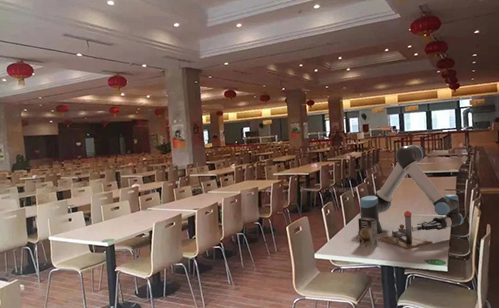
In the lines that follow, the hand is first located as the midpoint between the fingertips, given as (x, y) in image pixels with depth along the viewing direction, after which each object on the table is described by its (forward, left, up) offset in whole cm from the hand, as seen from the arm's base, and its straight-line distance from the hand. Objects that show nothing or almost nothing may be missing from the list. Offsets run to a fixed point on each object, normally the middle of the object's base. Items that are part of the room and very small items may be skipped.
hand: (412, 229), depth 241 cm
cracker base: (-7, -7, -10) cm, 14 cm away
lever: (-5, -8, -8) cm, 13 cm away
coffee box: (+9, -23, -10) cm, 27 cm away
